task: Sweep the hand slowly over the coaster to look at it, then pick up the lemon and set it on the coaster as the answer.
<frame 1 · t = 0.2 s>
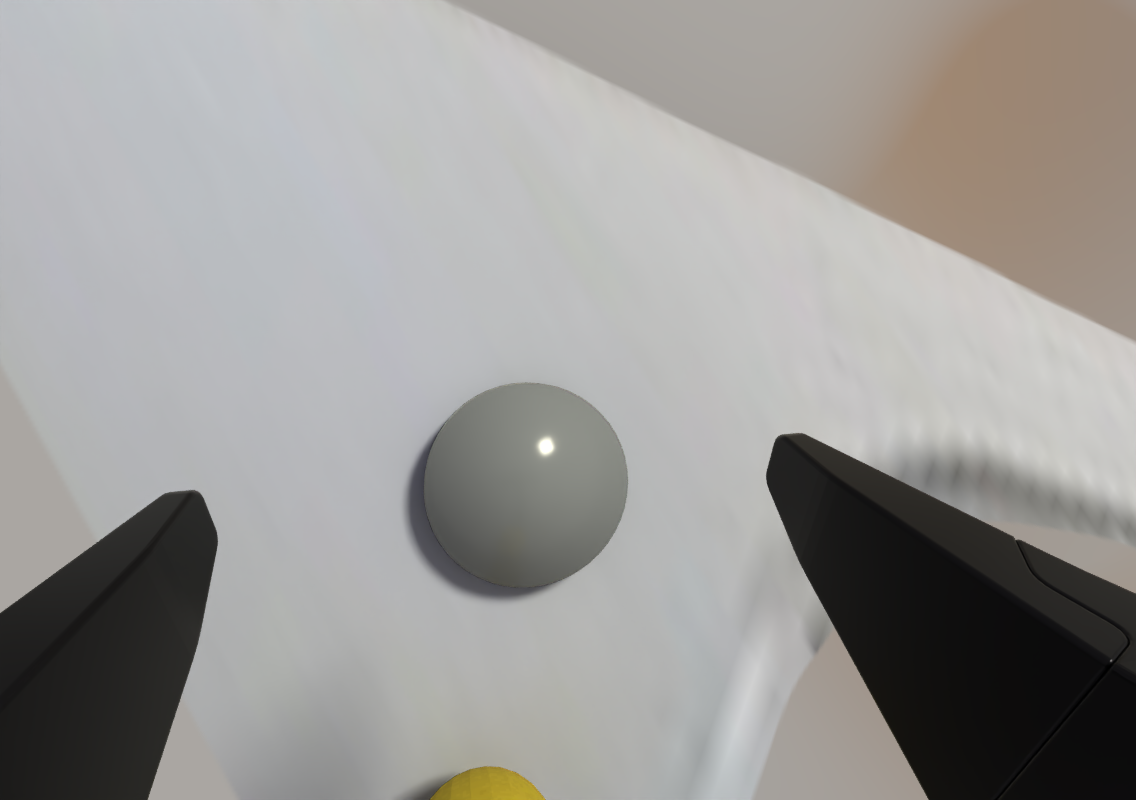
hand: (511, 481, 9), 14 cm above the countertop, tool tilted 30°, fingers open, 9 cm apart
coaster: (525, 481, 24), on the countertop
lemon: (477, 787, 25), on the countertop
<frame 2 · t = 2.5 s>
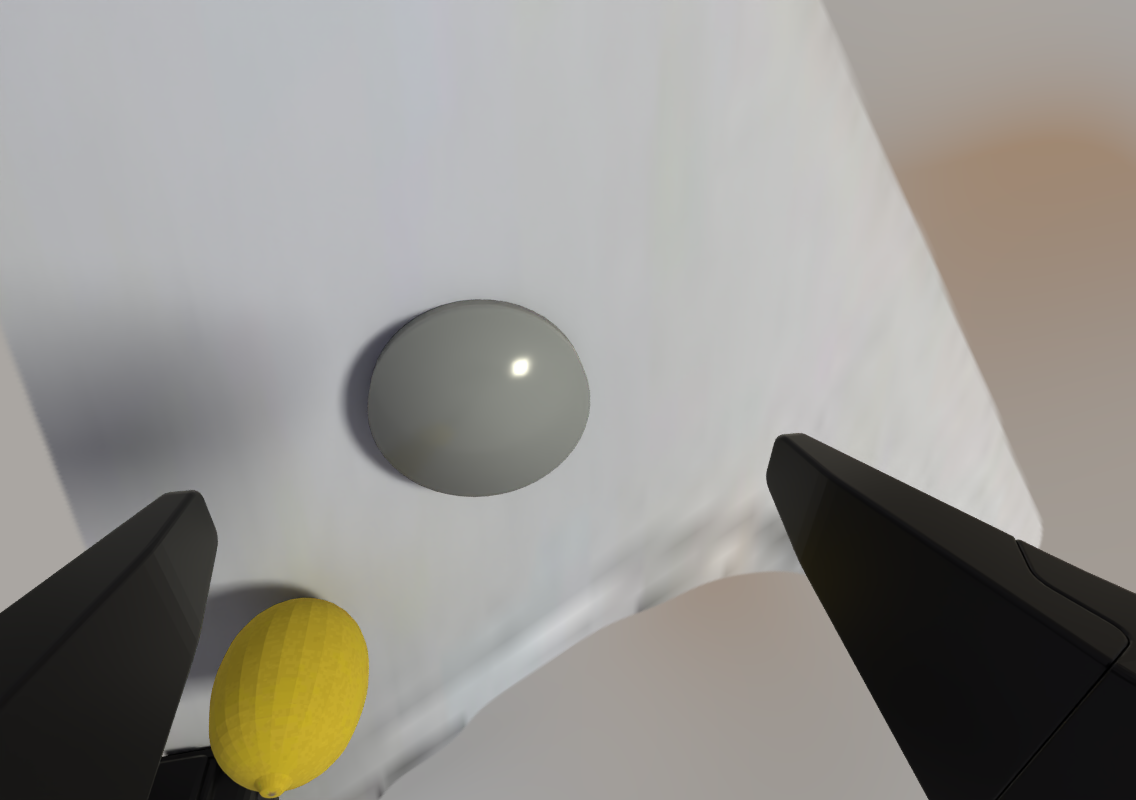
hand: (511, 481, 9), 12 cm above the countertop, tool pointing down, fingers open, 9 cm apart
coaster: (481, 398, 23), on the countertop
lemon: (312, 597, 27), on the countertop
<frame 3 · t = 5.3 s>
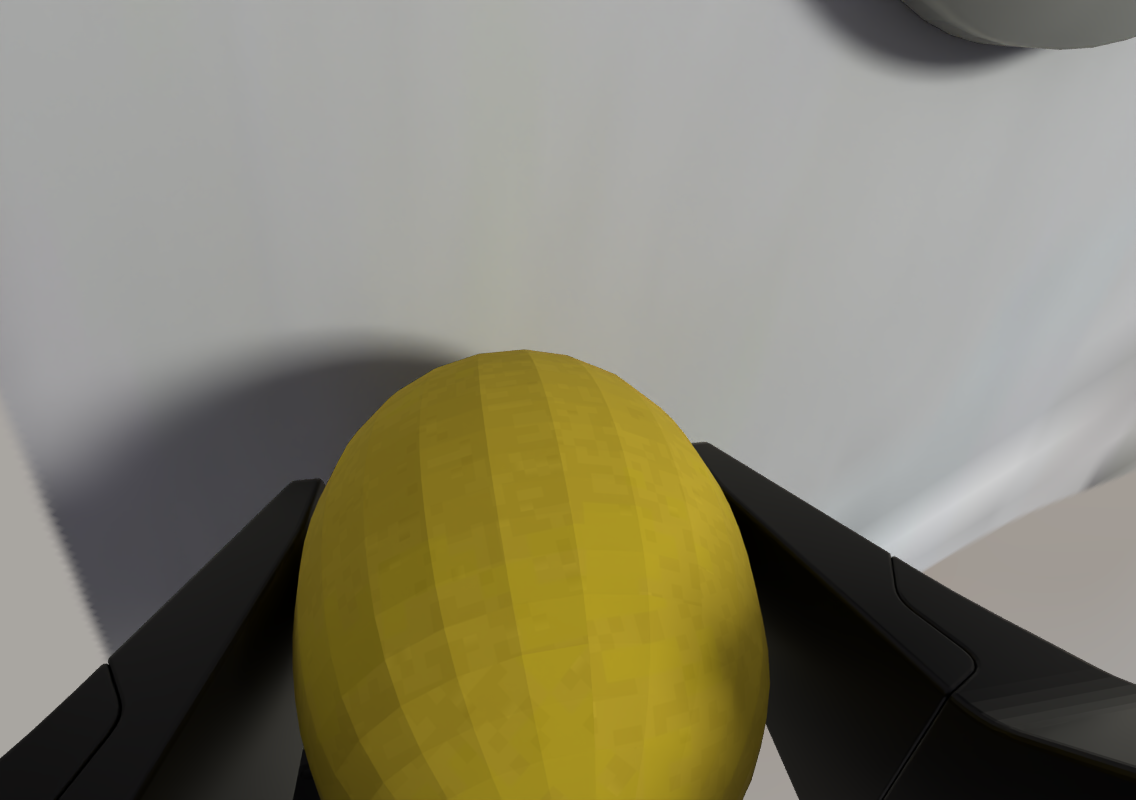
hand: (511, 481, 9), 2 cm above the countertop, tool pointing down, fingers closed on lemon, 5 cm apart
lemon: (499, 404, 11), on the countertop, touching gripper
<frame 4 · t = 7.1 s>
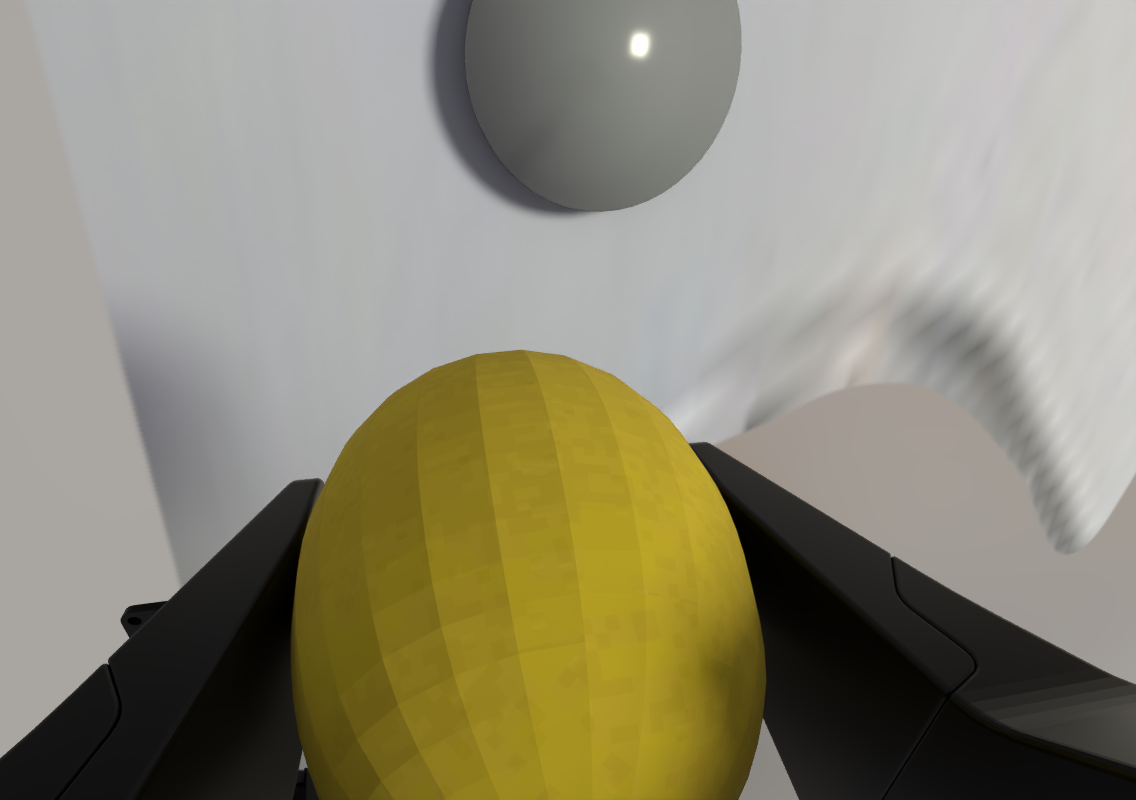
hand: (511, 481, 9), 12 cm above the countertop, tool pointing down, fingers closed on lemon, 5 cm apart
coaster: (600, 66, 18), on the countertop
lemon: (497, 405, 11), point 10 cm above the countertop, touching gripper
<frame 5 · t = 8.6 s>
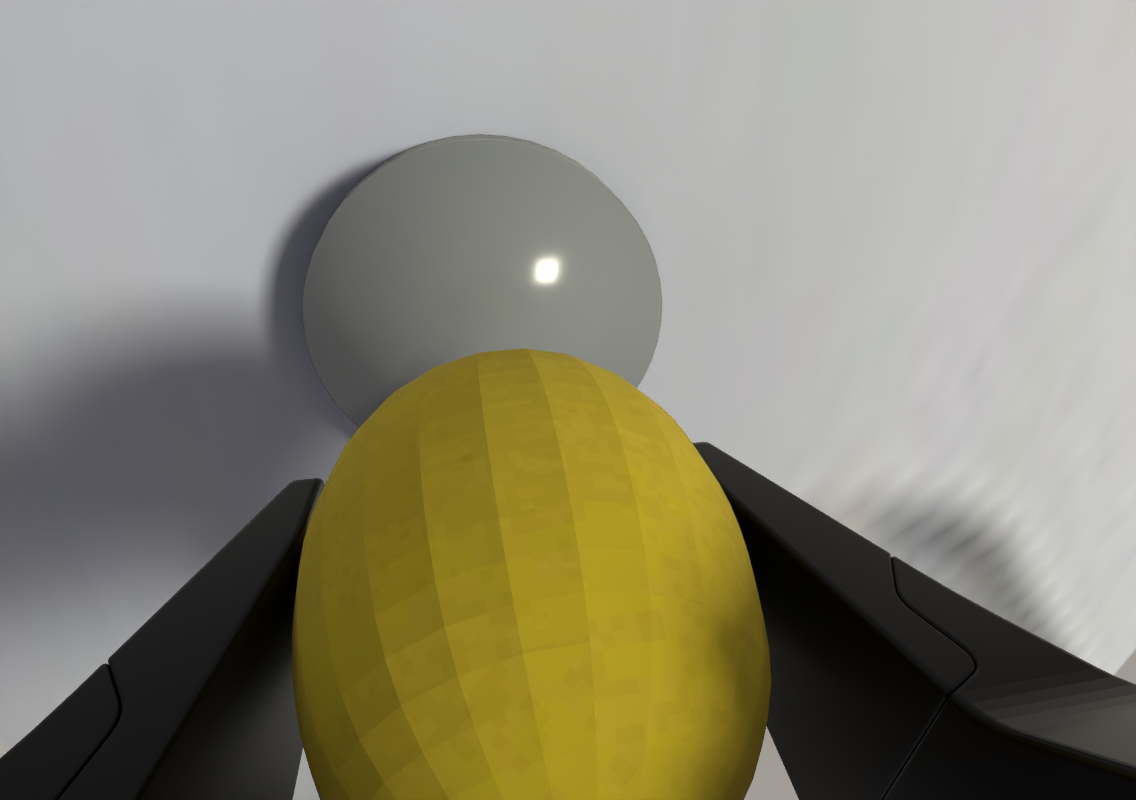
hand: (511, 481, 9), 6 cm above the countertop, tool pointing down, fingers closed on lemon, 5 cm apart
coaster: (489, 313, 14), on the countertop
lemon: (498, 404, 11), point 4 cm above the countertop, touching gripper
when the fingers open (4 cm above the countertop, at t = 9.5 s): lemon stays where it is, resting on coaster.
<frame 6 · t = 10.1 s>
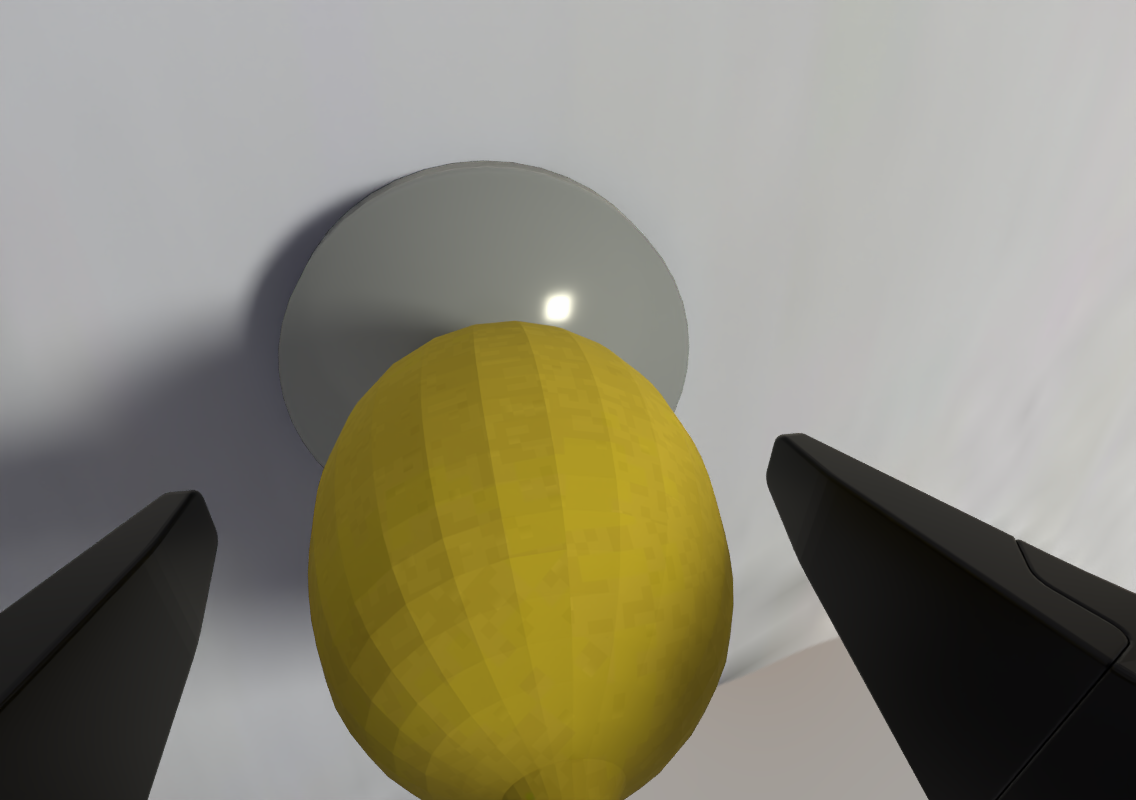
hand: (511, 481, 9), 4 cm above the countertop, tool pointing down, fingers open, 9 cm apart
coaster: (492, 359, 13), on the countertop
lemon: (494, 381, 12), point 1 cm above the countertop, touching coaster
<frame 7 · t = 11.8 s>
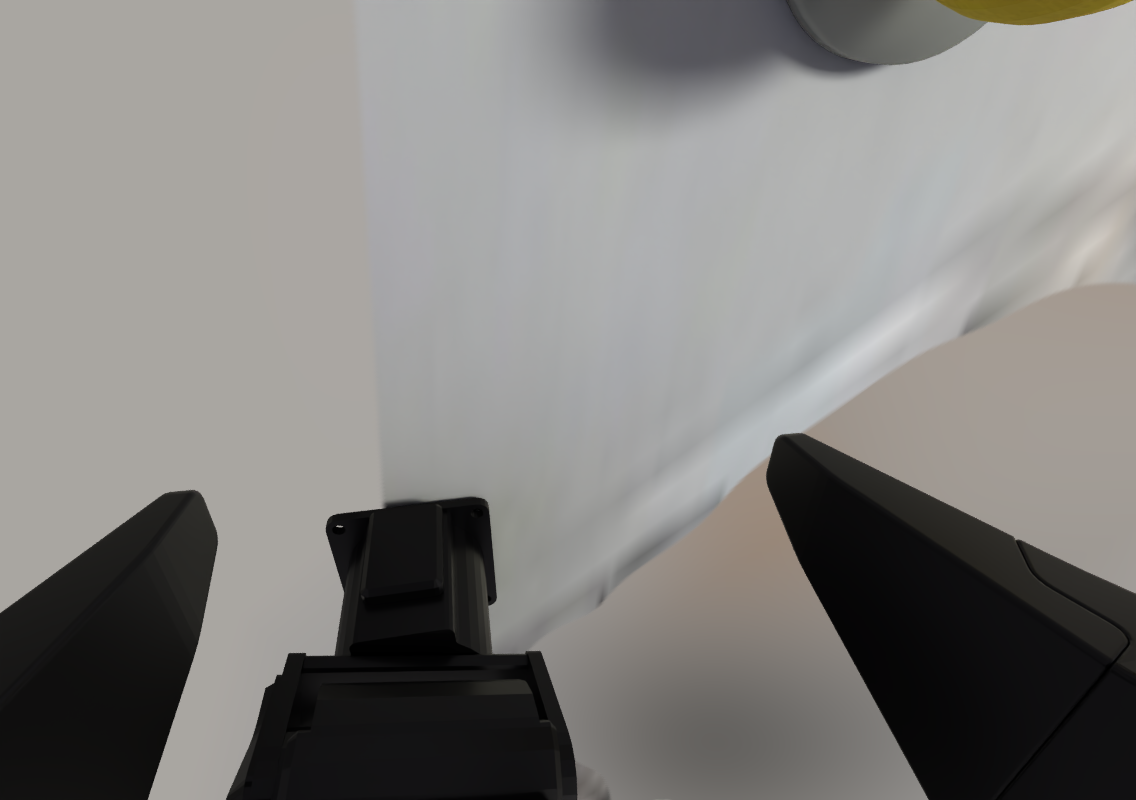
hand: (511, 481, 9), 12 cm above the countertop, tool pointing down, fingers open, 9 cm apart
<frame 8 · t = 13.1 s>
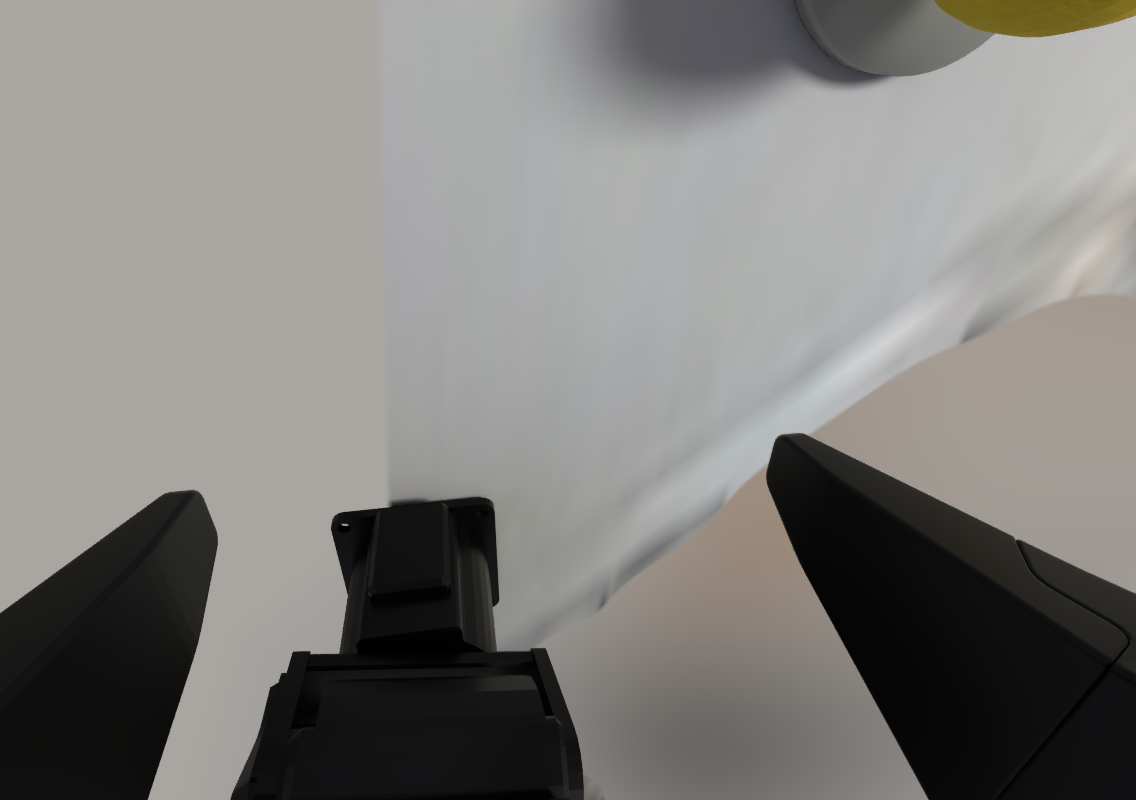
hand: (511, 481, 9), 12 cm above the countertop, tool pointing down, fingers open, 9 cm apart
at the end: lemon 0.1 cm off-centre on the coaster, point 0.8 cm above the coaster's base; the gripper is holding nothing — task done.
